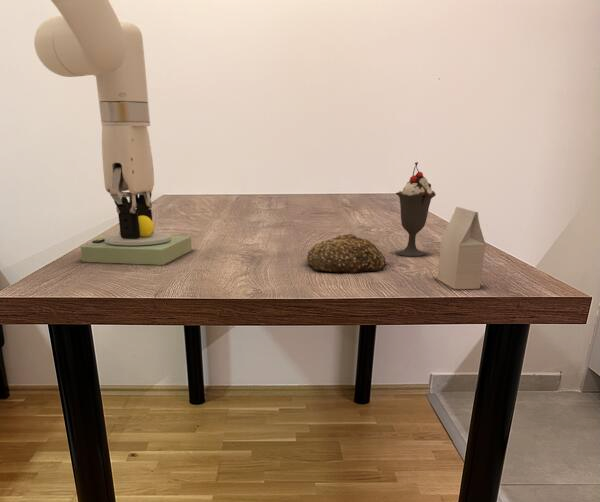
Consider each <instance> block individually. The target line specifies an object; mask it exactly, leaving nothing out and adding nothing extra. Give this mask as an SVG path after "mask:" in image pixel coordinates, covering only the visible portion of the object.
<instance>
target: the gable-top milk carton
mask: <svg viewBox="0 0 600 502" xmlns="http://www.w3.org/2000/svg"><path fill="white" fill-rule="evenodd" d="M480 224H481V223H480V220H479V211H475V210H471V209H468V208H464V207H460V206H456V207H455V209H454V212H453V214H452V216H451V218H450V221H448V224H447V226H446V228H445V230H444V231H443V233H442V235H441V237H440V245H439V246H440V247H439V256H438V264H437V265H438V266H437V275H436V276H437V277H436V280H438V281H439V282H441V283H443V284H445V285H446V286H448V287H450V288H451V289H453V290H473V289H474V290H475V289H478V290H479V289H481V284H482V283H481V282H482V276H483V266H484V259H485V252H486V251H485V250H486V242H485V238H484V235H483V232H482V228H481V225H480Z"/></svg>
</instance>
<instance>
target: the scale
mask: <svg viewBox="0 0 600 502" xmlns="http://www.w3.org/2000/svg"><path fill="white" fill-rule="evenodd" d="M192 250H193V248H192V237H191V236H179V235H171V234H169V233H165V232H157V231H156V232H155V231H153V233H152V234H150V235H149V236H147V237H140V238H138V239H125V238H122V237H121V235H120V234H119V232H118V233H113V234H109V235H106V236H103V237H100V238H97V239H94V240H91V243H87V244H85V245H84V244H83V245H81V246H80V253H81V260H82V262H83V263H103V264H104V263H105V264H107V263H108V264H127V265H130V264H132V265H155V266H157V265H158V266H165V265H167V264H168V263H170V262H172V261H174V260H176V259H178V258H180V257H182V256H184V255H185V254H187V253H190V252H191V251H192Z"/></svg>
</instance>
